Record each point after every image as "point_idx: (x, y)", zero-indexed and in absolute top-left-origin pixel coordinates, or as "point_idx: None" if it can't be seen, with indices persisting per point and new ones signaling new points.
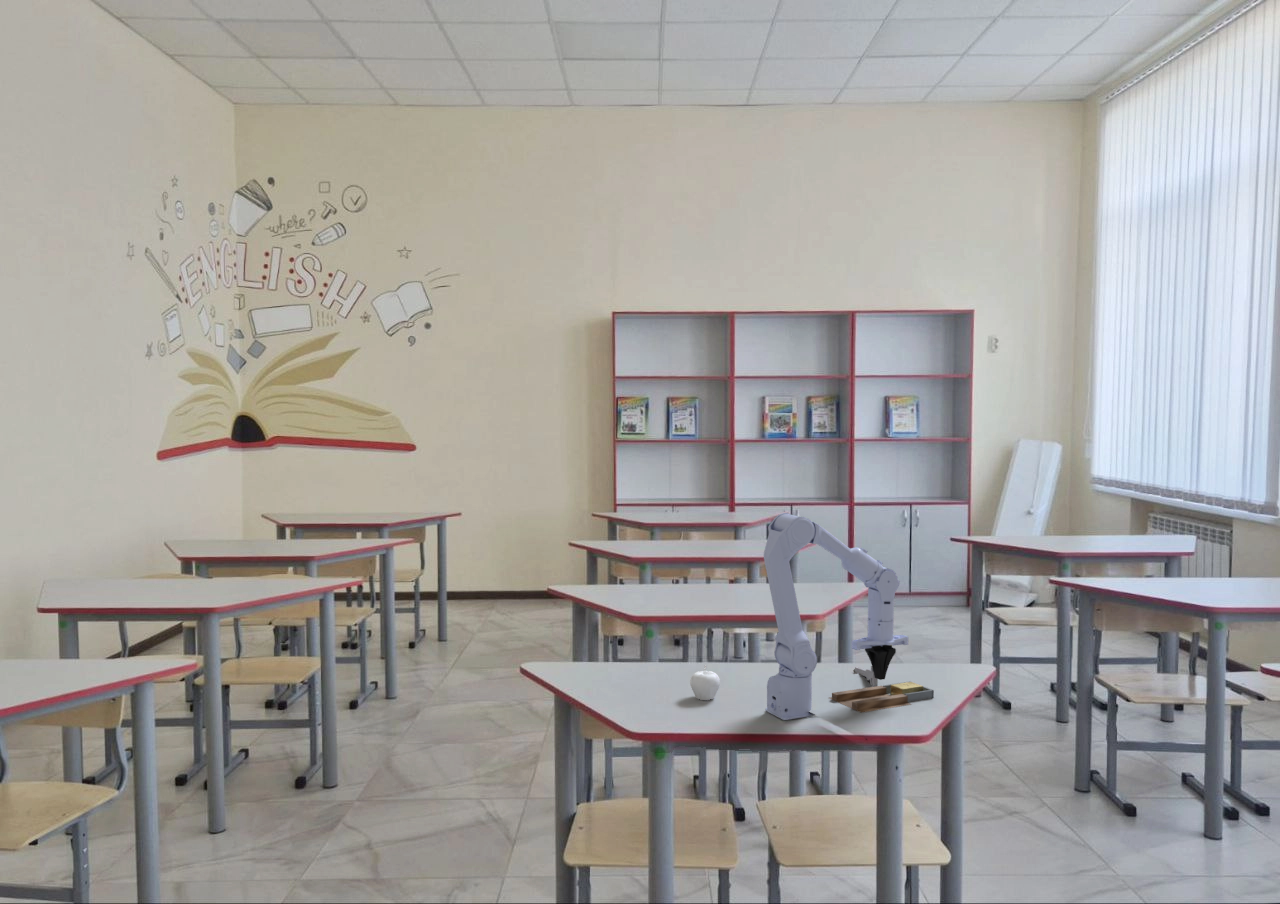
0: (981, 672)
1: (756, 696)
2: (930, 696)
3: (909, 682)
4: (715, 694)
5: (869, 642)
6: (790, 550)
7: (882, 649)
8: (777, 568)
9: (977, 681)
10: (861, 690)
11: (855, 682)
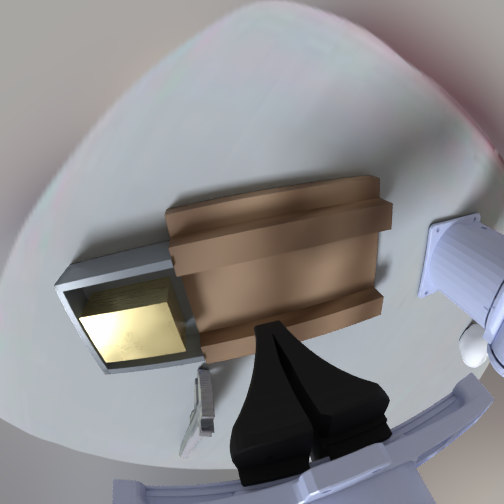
0: None
1: (425, 346)
2: (71, 273)
3: (114, 358)
4: (469, 332)
5: (455, 425)
6: None
7: (322, 441)
8: None
9: None
10: (296, 330)
11: (214, 419)
